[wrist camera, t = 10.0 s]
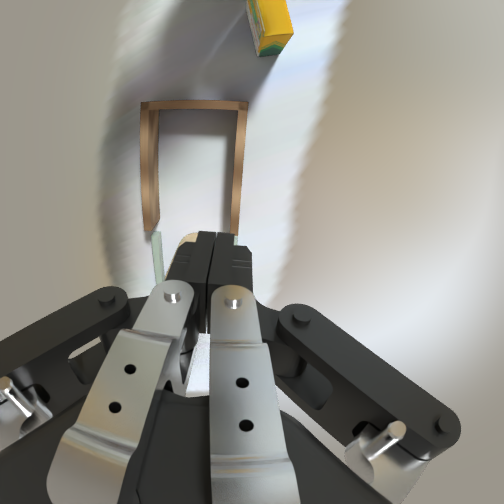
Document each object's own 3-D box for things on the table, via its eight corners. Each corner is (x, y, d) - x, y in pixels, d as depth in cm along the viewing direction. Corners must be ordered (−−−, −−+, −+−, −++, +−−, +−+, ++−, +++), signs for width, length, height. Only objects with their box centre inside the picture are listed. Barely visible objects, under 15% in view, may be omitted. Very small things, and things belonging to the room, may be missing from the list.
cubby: (152, 102, 29) (140, 102, 26) (248, 102, 30) (248, 101, 26) (153, 218, 37) (144, 230, 33) (238, 222, 38) (237, 235, 34)
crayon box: (281, 54, 27) (298, 29, 16) (257, 57, 27) (262, 33, 17) (269, 6, 23) (280, -35, 13) (245, 9, 23) (245, -31, 13)
